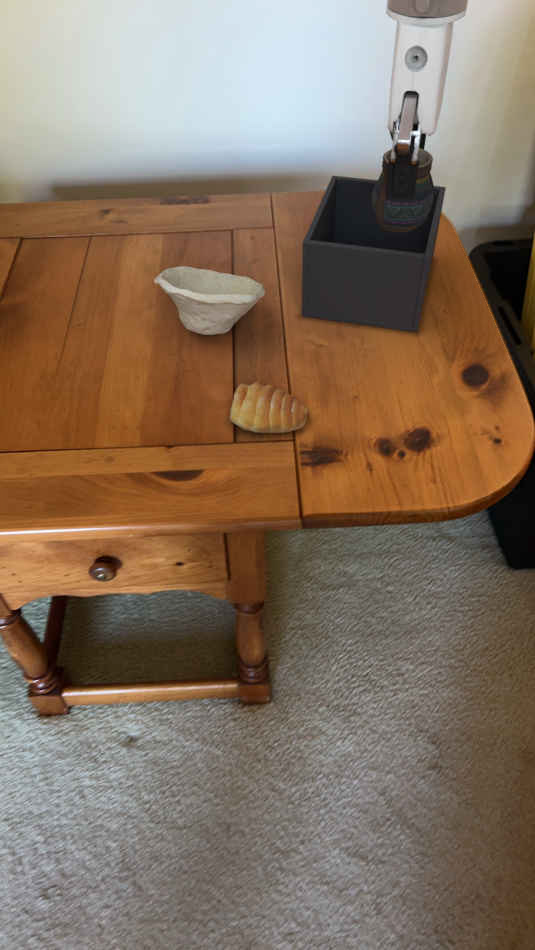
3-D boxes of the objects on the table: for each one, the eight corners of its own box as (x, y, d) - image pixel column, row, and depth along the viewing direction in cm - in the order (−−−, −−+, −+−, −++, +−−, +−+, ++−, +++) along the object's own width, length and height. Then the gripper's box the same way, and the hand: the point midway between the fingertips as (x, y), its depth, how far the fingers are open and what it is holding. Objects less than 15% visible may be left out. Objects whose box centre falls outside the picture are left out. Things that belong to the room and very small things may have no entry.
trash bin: (432, 259, 103) (445, 186, 94) (417, 332, 92) (430, 257, 83) (329, 247, 107) (332, 175, 98) (301, 316, 95) (302, 242, 86)
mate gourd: (399, 246, 76) (411, 160, 69) (354, 221, 80) (360, 136, 73) (442, 224, 79) (457, 138, 71) (396, 200, 83) (406, 117, 75)
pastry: (312, 404, 84) (312, 382, 81) (301, 443, 80) (301, 421, 77) (241, 394, 85) (238, 371, 82) (226, 431, 81) (224, 409, 78)
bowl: (283, 311, 96) (282, 249, 89) (235, 369, 89) (230, 307, 81) (197, 285, 101) (188, 224, 93) (144, 338, 93) (130, 276, 86)
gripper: (461, 26, 56) (428, 223, 70) (474, -31, 67) (443, 150, 80) (373, 22, 57) (358, 216, 71) (400, -33, 68) (382, 145, 82)
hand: (403, 180), depth 76 cm, fingers closed on mate gourd, 6 cm apart
